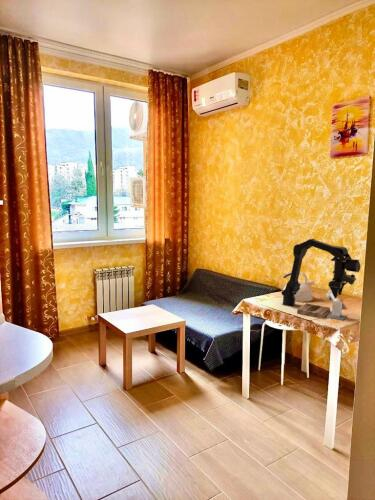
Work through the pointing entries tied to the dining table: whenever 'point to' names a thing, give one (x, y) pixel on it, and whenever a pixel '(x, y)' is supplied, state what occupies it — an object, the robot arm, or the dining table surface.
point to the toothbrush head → (331, 297)
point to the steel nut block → (337, 309)
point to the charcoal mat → (336, 317)
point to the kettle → (303, 290)
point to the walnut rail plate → (307, 311)
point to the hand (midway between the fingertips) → (337, 296)
